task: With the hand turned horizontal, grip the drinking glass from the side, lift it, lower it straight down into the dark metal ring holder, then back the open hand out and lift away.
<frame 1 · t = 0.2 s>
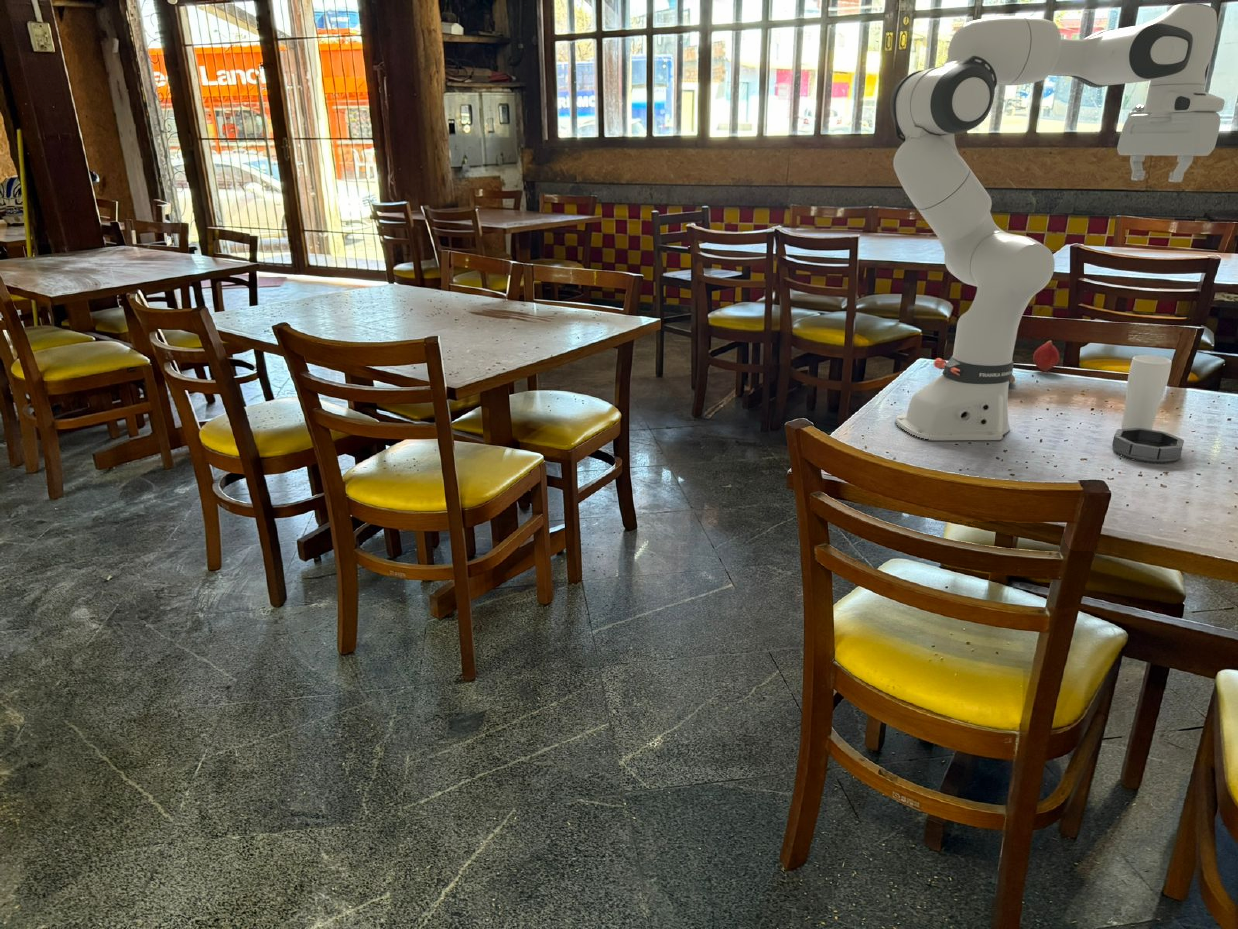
hand: (1155, 181, 161), 48 cm above the table, tool pointing down, fingers open, 8 cm apart
stone cup: (979, 381, 205), on the table
onion: (1043, 372, 212), on the table
drinking glass: (1135, 432, 170), on the table
ring holder: (1145, 452, 159), on the table
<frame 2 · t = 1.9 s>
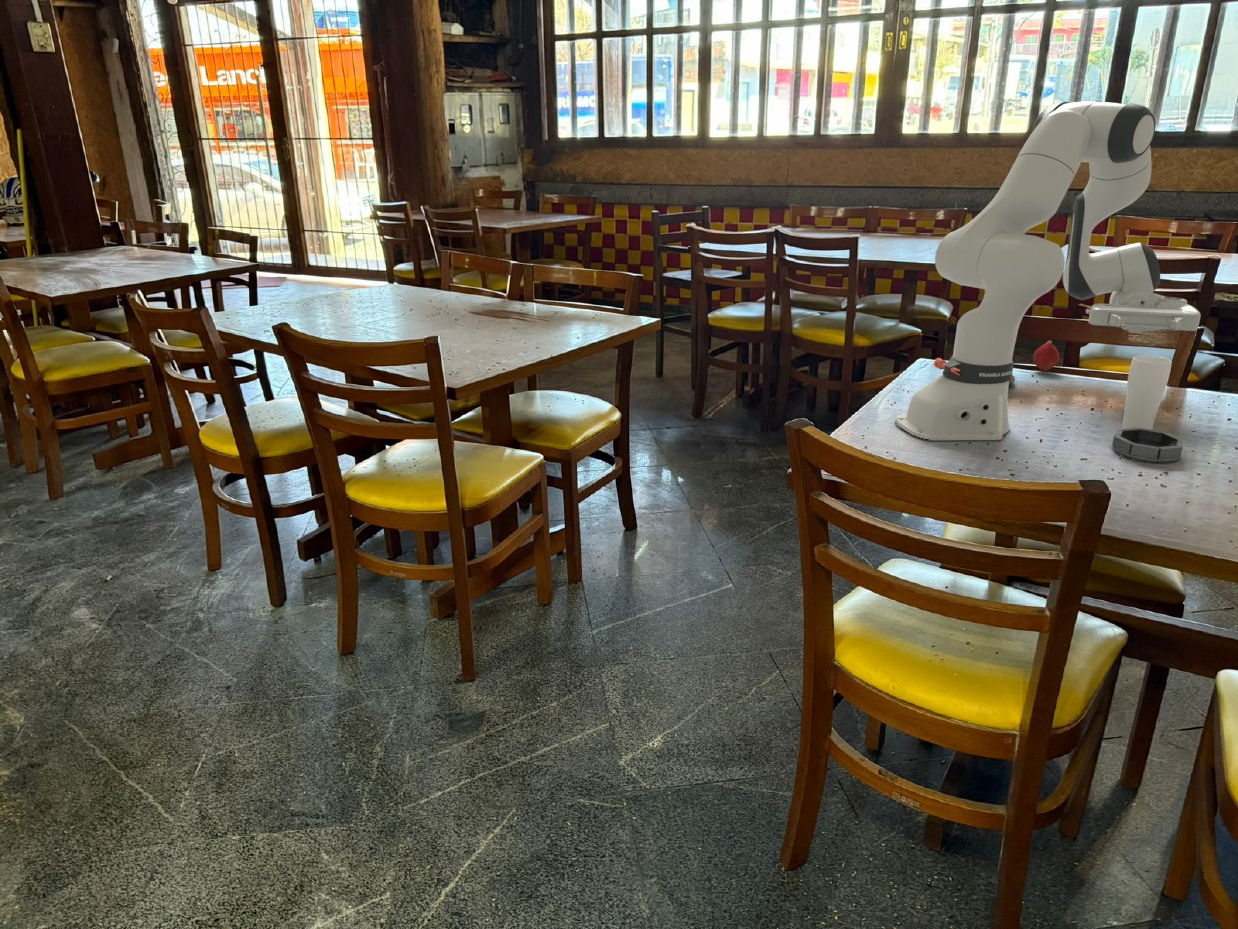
hand: (1147, 324, 173), 19 cm above the table, tool horizontal, fingers open, 8 cm apart
nothing on the table moved.
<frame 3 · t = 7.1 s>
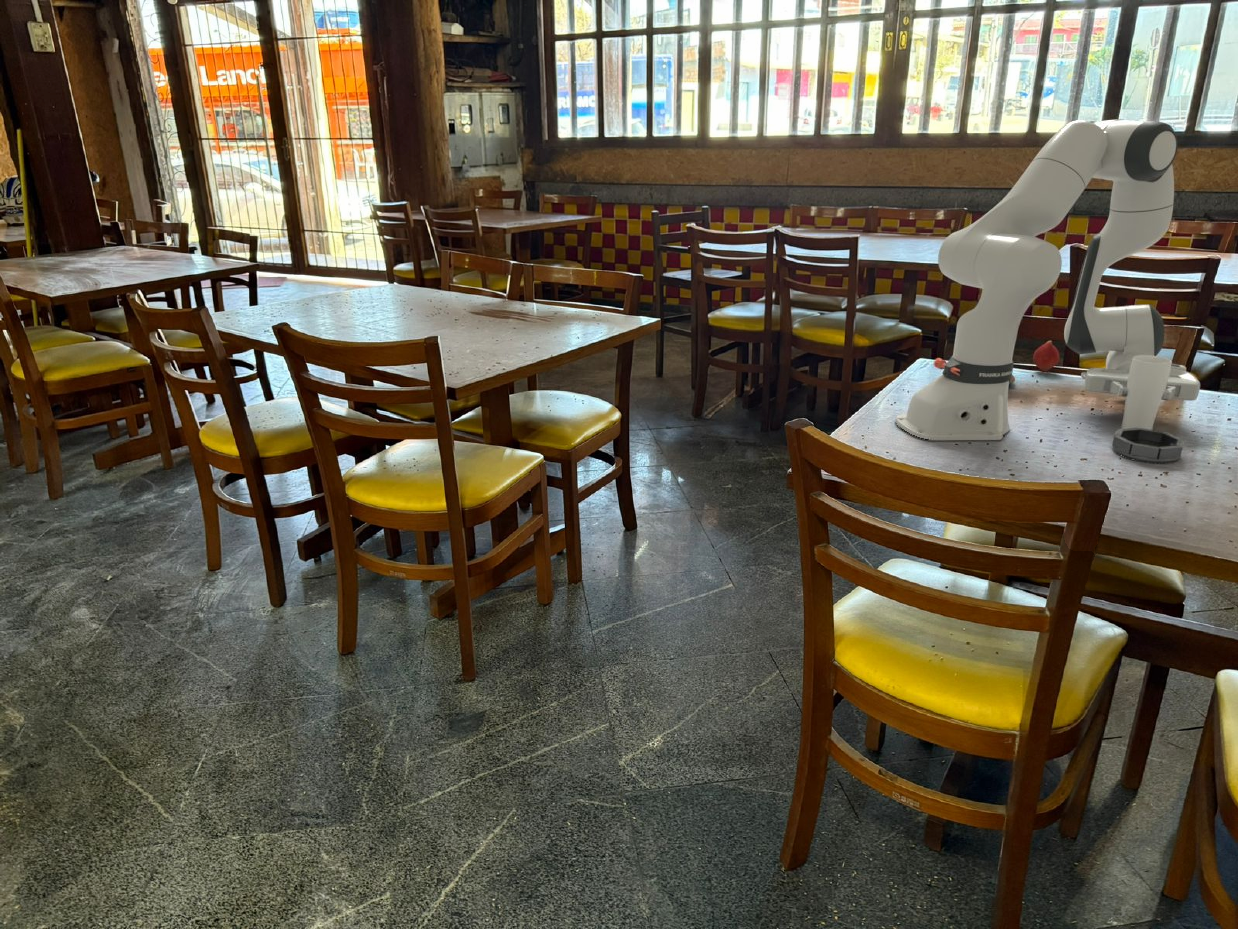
hand: (1145, 394, 166), 8 cm above the table, tool horizontal, fingers closed on drinking glass, 6 cm apart
drinking glass: (1135, 432, 170), on the table, touching gripper
everything else where it was.
when the fingers open (10 cm above the table, at t = 14.0 s): drinking glass stays where it is, resting on ring holder.
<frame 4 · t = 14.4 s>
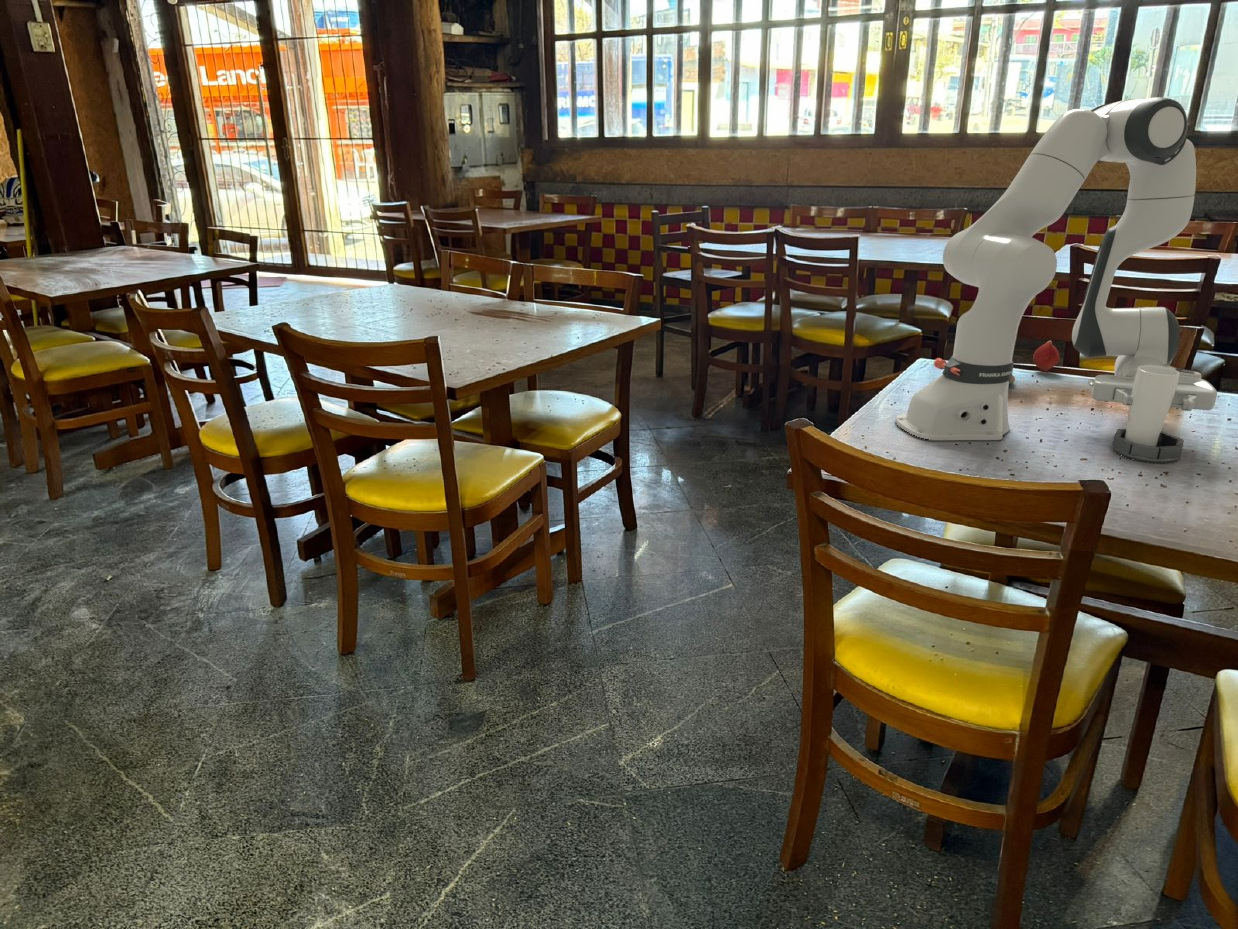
hand: (1157, 404, 154), 10 cm above the table, tool horizontal, fingers open, 8 cm apart
drinking glass: (1138, 447, 159), point 1 cm above the table, touching gripper, ring holder
everything else where it was.
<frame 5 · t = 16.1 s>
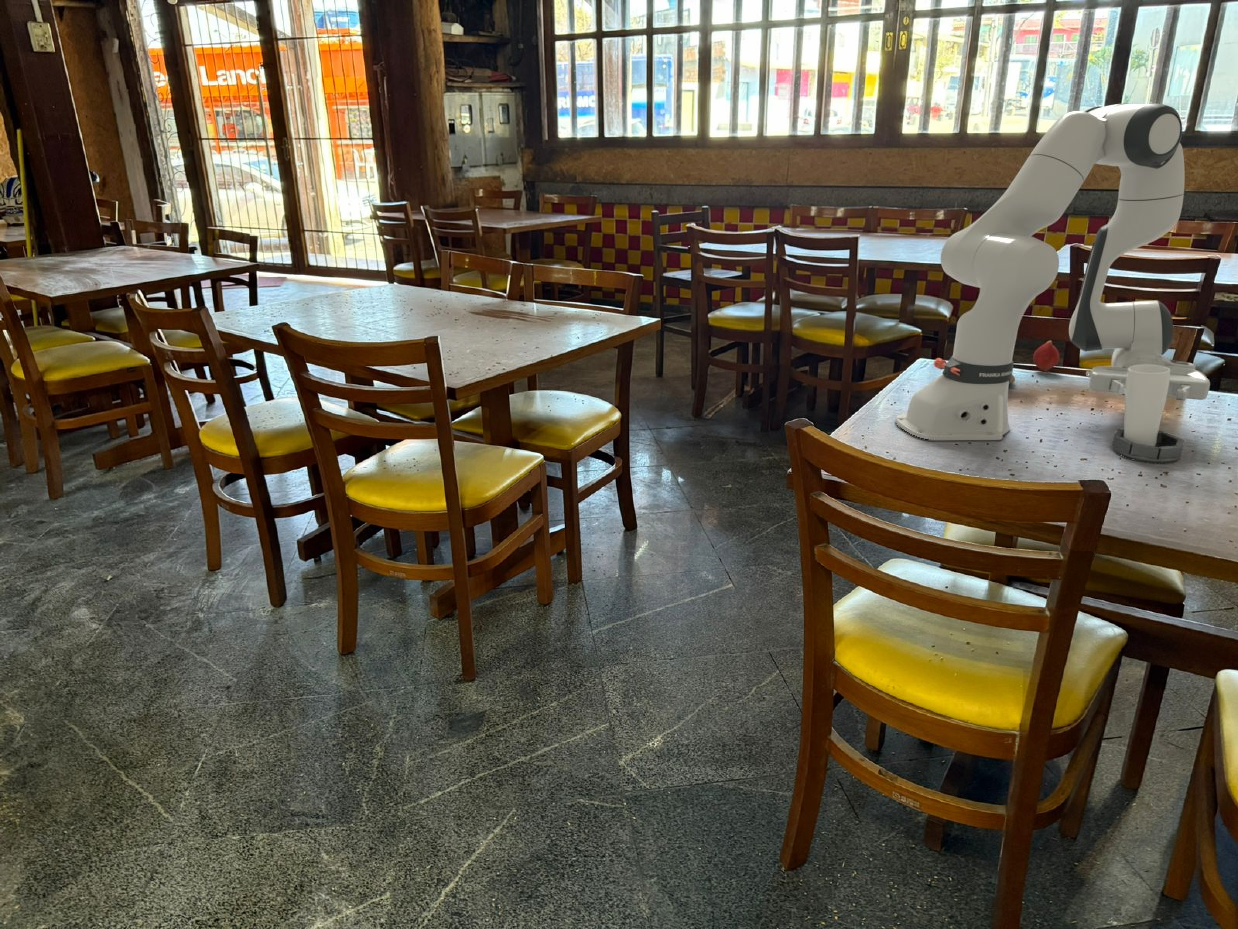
hand: (1152, 393, 160), 10 cm above the table, tool horizontal, fingers open, 8 cm apart
drinking glass: (1138, 446, 159), point 1 cm above the table, touching ring holder
everything else where it was.
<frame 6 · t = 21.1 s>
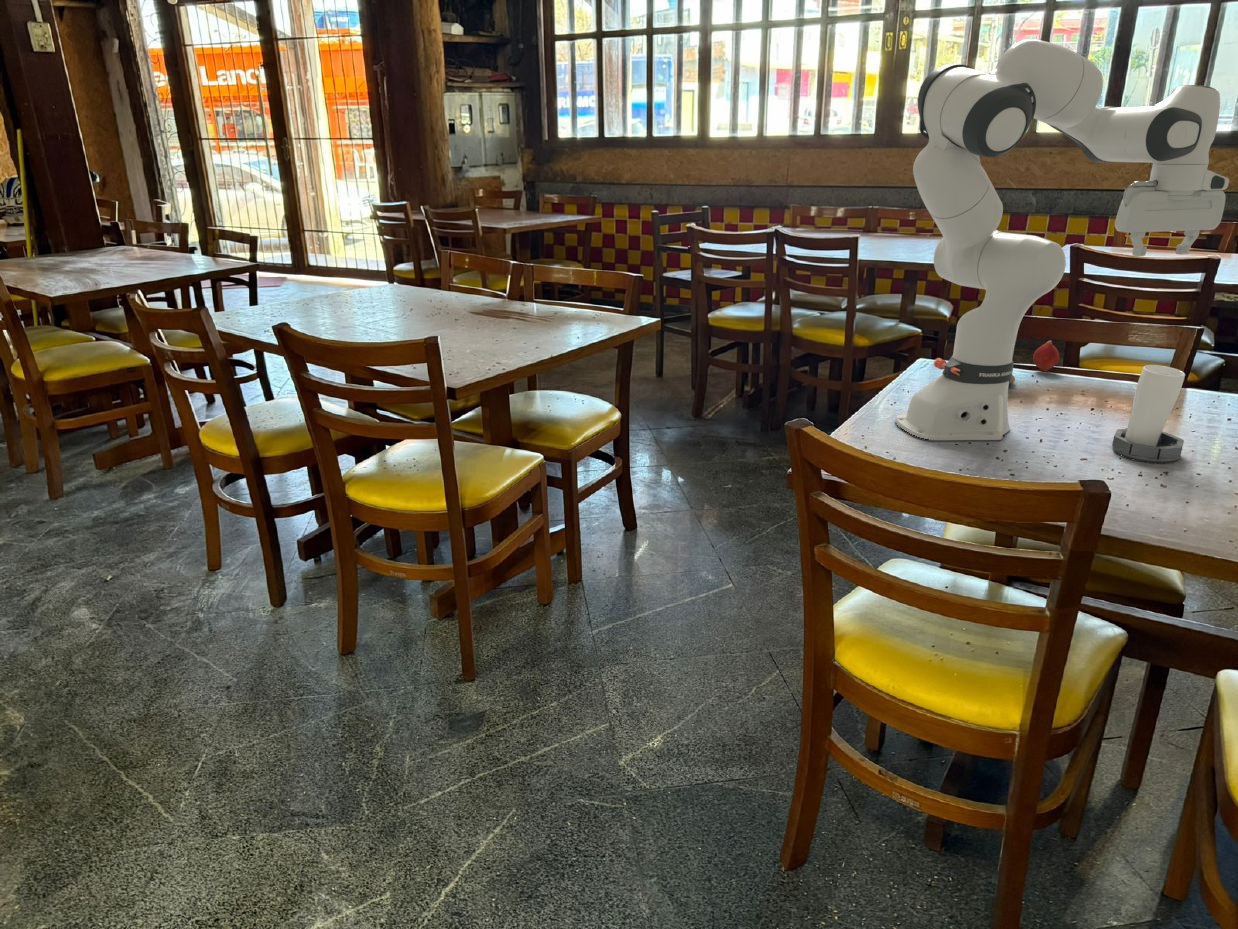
hand: (1160, 255, 163), 34 cm above the table, tool pointing down, fingers open, 8 cm apart
at the end: drinking glass 1.3 cm off-centre on the ring holder, point 1.0 cm above the ring holder's base; drinking glass tilted 4°; the gripper is holding nothing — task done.
